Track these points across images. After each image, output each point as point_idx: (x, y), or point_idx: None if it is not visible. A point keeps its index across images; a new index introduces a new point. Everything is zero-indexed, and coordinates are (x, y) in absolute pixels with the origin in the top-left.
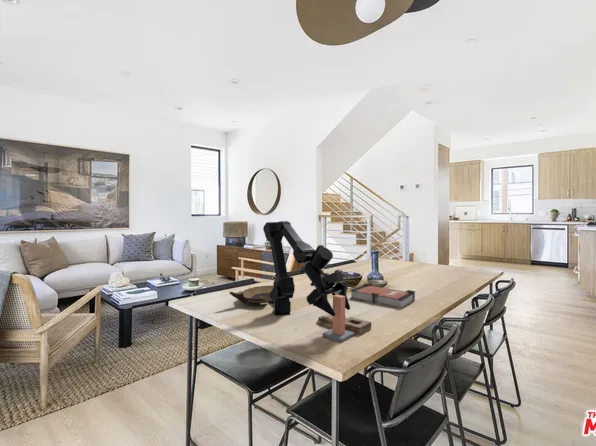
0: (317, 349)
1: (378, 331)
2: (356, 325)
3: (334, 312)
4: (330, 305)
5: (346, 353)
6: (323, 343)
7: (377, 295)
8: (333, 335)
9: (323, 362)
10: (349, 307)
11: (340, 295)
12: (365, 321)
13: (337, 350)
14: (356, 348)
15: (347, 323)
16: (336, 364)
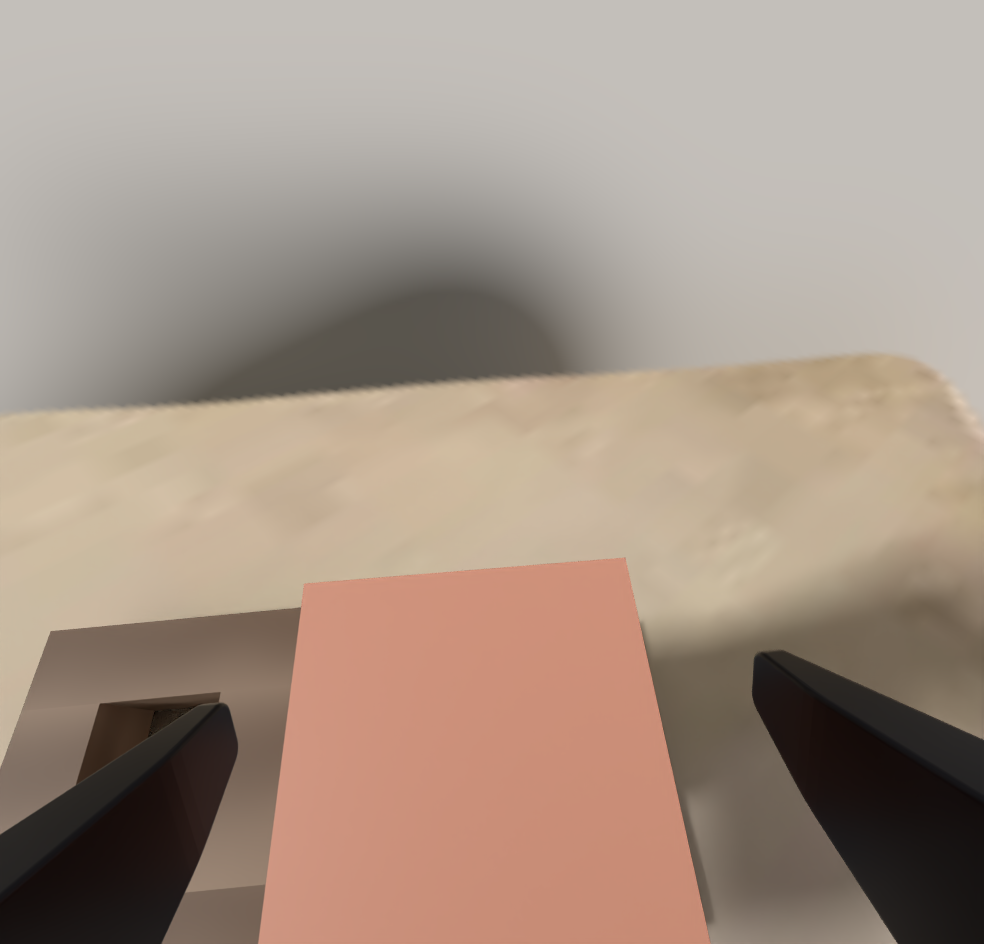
0: (926, 685)
1: (150, 558)
2: (258, 684)
3: (790, 665)
4: (978, 786)
5: (728, 473)
6: None
7: None
8: None
9: (981, 488)
10: (208, 712)
11: (316, 879)
12: (57, 694)
13: (759, 548)
14: (600, 477)
15: (253, 832)
16: (899, 420)
